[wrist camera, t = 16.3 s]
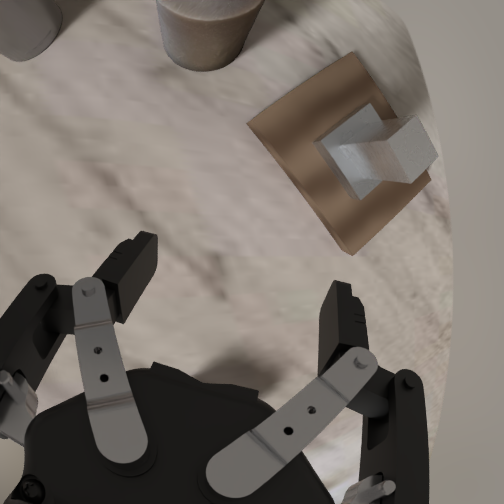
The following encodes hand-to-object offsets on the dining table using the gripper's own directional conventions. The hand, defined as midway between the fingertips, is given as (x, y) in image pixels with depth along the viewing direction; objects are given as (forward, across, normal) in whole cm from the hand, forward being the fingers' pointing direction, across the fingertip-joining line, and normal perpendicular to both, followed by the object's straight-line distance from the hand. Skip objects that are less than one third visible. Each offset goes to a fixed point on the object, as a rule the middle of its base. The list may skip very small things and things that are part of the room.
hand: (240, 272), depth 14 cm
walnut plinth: (+29, -8, +1) cm, 30 cm away
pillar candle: (+28, +12, -10) cm, 32 cm away
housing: (+26, -9, 0) cm, 27 cm away
